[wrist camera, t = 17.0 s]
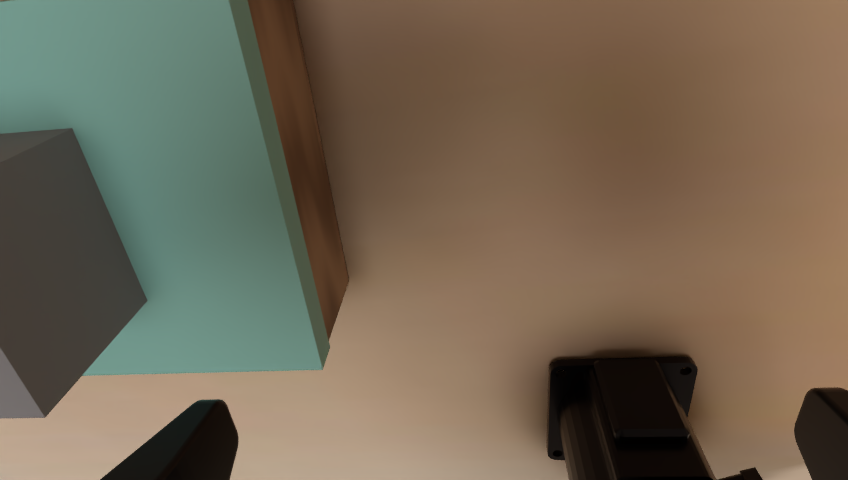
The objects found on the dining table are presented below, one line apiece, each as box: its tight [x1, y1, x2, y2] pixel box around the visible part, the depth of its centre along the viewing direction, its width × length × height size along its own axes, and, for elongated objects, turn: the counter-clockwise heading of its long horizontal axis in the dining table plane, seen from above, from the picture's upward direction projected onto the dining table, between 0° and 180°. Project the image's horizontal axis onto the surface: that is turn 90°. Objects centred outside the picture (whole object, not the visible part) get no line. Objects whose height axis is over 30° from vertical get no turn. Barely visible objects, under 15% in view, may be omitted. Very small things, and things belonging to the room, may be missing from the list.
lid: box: [0, 0, 330, 376], centre depth 17 cm, size 13×16×1 cm
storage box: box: [248, 0, 349, 340], centre depth 19 cm, size 12×16×4 cm
